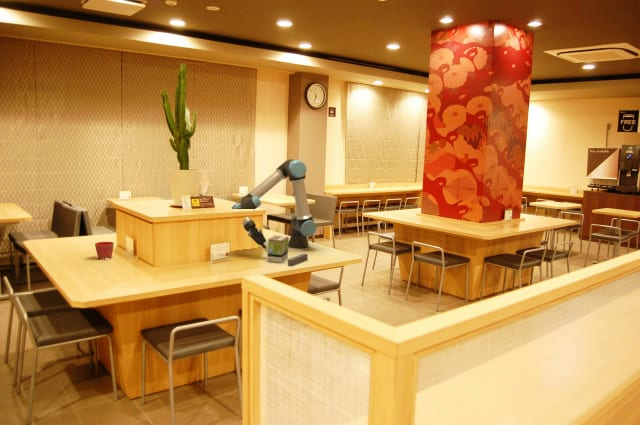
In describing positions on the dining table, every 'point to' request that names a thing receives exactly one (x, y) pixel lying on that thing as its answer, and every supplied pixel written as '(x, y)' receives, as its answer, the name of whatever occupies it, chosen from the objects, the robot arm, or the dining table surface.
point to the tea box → (277, 248)
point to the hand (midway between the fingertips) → (268, 251)
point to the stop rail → (297, 259)
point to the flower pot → (104, 249)
